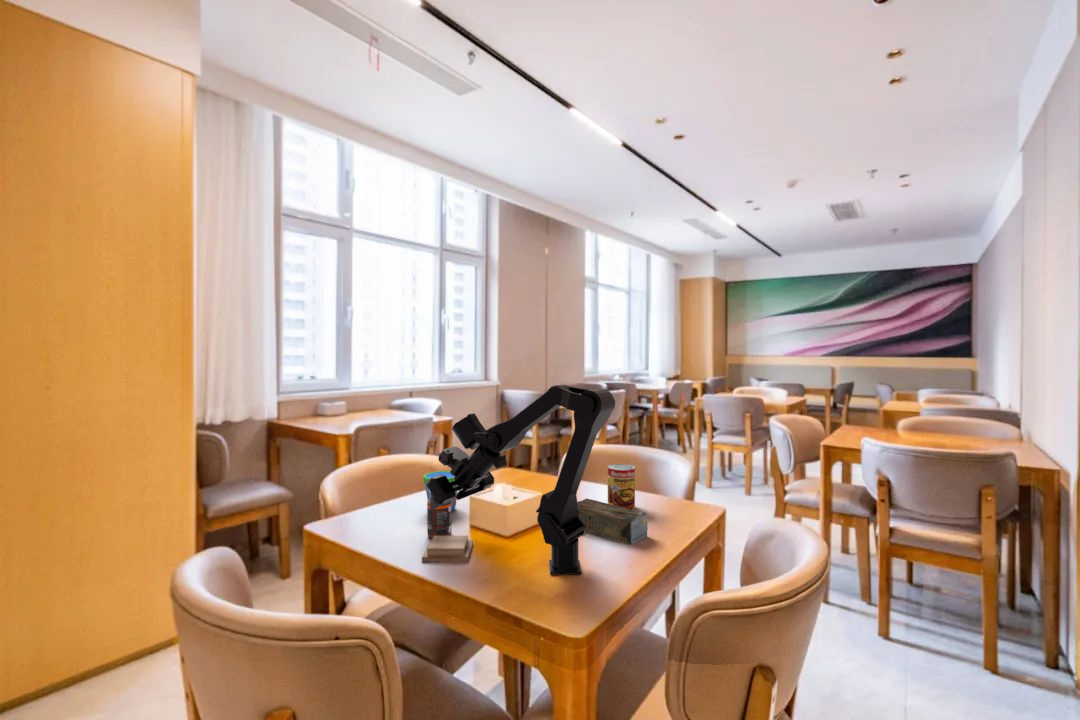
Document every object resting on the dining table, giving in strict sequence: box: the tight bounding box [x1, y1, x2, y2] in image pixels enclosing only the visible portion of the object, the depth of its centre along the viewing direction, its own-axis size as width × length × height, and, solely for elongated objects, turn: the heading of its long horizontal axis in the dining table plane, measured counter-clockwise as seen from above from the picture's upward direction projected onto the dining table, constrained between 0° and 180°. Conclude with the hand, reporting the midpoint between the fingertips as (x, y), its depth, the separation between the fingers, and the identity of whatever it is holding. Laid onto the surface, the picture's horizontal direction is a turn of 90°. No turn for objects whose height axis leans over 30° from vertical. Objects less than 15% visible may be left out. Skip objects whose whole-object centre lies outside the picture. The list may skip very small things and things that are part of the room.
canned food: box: [607, 463, 636, 511], centre depth 152 cm, size 8×8×12 cm
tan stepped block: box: [421, 534, 474, 563], centre depth 118 cm, size 10×10×2 cm
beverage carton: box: [576, 498, 649, 545], centre depth 132 cm, size 8×19×7 cm, turn 48°
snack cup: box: [422, 470, 459, 512], centre depth 150 cm, size 16×10×10 cm
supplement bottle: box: [426, 493, 453, 539], centre depth 129 cm, size 6×6×11 cm
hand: (444, 502), depth 128 cm, fingers open, 9 cm apart
